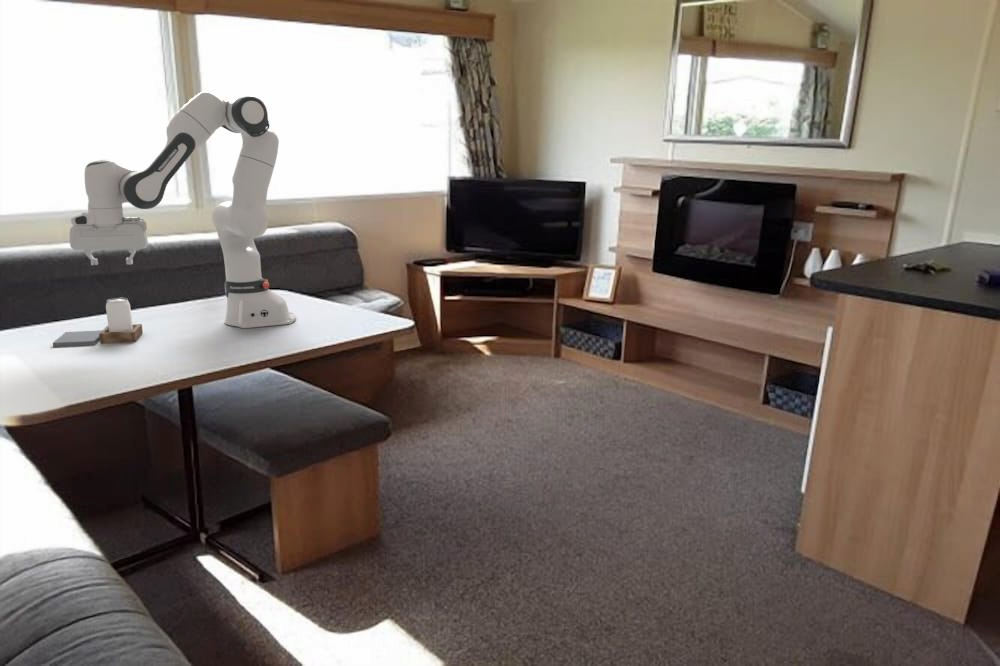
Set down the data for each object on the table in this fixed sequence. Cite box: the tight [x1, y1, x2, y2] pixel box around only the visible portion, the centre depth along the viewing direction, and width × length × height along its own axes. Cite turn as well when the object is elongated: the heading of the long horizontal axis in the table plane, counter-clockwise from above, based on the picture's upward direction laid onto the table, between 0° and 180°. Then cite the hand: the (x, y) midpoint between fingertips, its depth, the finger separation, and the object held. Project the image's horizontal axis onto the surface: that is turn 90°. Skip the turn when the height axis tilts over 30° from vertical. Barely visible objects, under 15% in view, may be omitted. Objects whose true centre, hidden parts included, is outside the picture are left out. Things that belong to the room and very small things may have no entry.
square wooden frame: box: [99, 323, 144, 344], centre depth 222 cm, size 10×10×3 cm
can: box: [105, 297, 133, 332], centre depth 221 cm, size 6×6×12 cm
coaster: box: [52, 329, 103, 348], centre depth 220 cm, size 11×12×1 cm
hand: (112, 264), depth 217 cm, fingers open, 8 cm apart
